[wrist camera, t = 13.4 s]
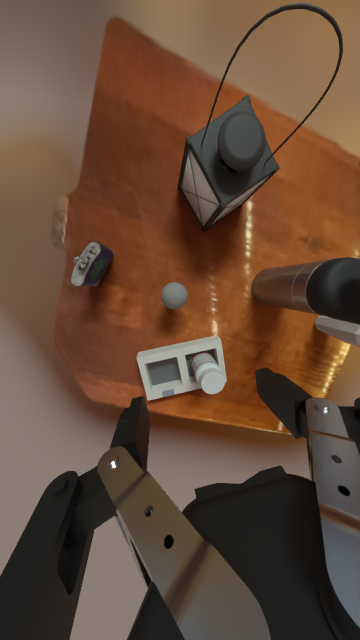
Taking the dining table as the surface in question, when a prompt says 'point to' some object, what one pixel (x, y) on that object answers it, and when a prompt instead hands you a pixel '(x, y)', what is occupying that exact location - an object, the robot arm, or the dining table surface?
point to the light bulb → (174, 295)
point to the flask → (91, 265)
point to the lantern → (233, 150)
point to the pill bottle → (207, 372)
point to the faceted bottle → (339, 329)
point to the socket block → (175, 366)
